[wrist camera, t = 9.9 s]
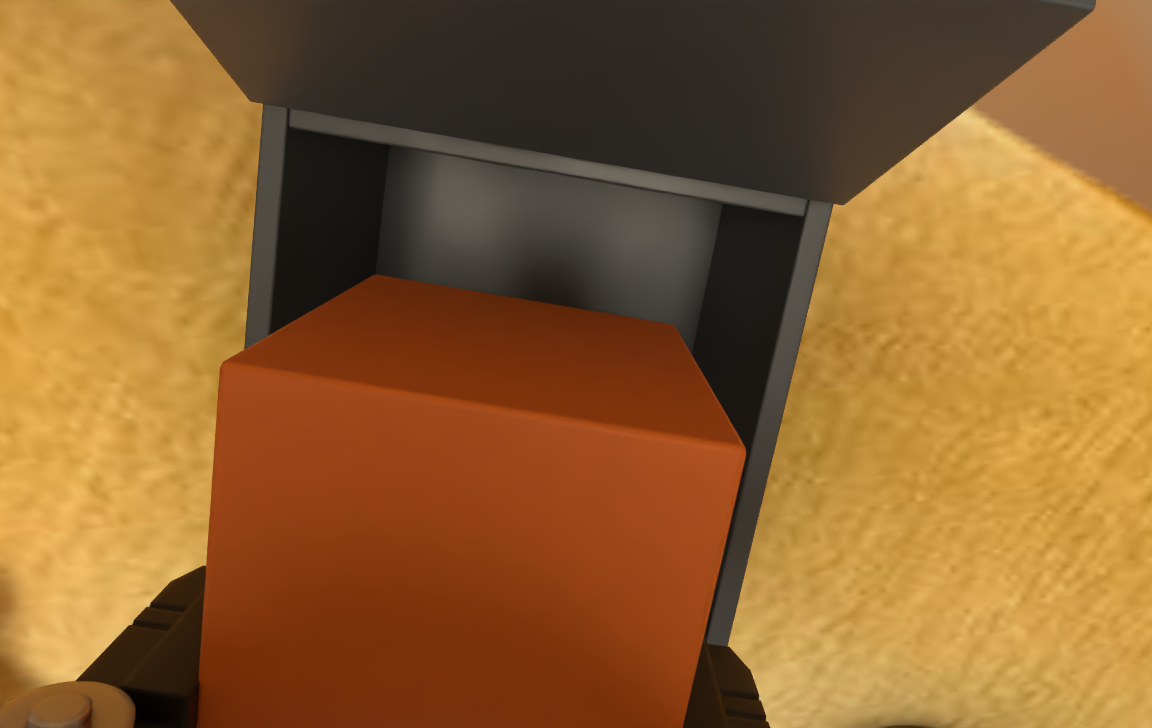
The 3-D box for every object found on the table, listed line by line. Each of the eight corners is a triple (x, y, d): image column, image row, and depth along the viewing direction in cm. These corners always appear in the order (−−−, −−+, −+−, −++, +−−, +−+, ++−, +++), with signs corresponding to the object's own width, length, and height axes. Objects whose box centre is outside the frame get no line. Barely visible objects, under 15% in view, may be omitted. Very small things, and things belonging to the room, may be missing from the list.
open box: (379, 119, 25) (262, 95, 16) (741, 183, 25) (836, 196, 16) (332, 545, 28) (213, 735, 19) (653, 595, 28) (690, 803, 19)
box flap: (249, 102, 15) (254, 80, 15) (843, 206, 15) (846, 185, 15) (12, -193, 8) (22, -230, 8) (1097, 10, 8) (1100, -27, 9)
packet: (373, 273, 13) (217, 360, 8) (676, 323, 14) (749, 448, 8) (320, 744, 16) (166, 1094, 10) (583, 783, 16) (586, 1149, 10)
